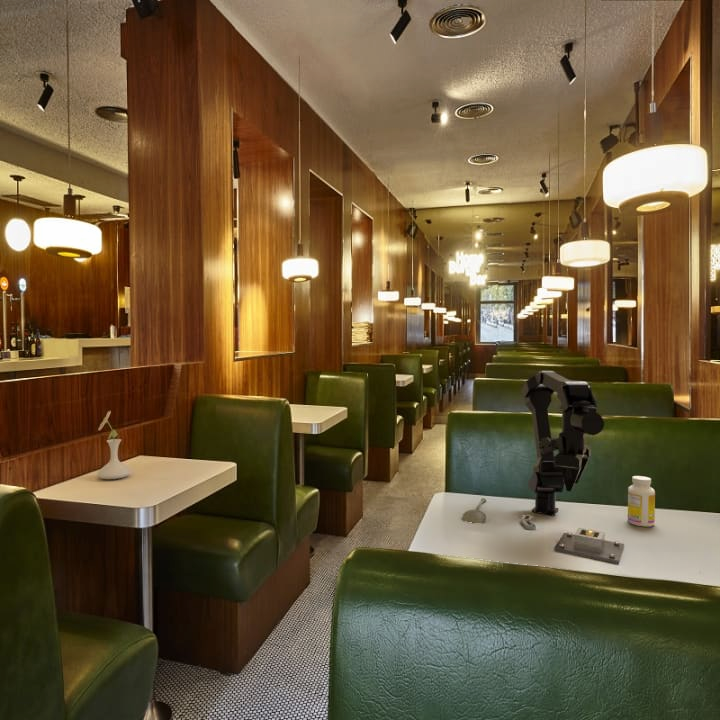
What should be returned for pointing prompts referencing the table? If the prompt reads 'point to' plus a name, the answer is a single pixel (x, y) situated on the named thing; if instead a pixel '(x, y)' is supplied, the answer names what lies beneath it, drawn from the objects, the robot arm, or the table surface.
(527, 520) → the chain tail
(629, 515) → the supplement bottle
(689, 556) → the table surface
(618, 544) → the keeper plate
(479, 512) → the soupspoon
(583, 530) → the end link
